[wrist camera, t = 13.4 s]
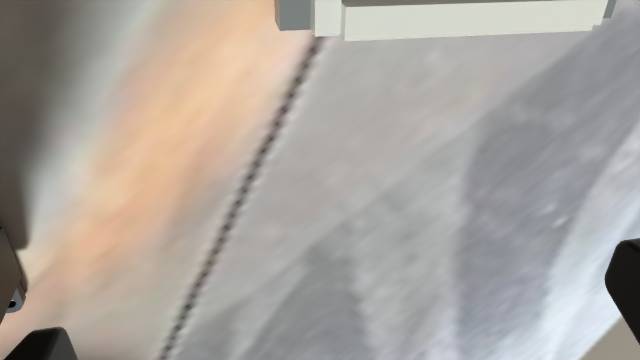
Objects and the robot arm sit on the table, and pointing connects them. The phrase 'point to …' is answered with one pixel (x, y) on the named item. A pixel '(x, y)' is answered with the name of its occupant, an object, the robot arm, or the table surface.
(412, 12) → the gray tray
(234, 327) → the table surface
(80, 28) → the table surface
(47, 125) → the table surface
